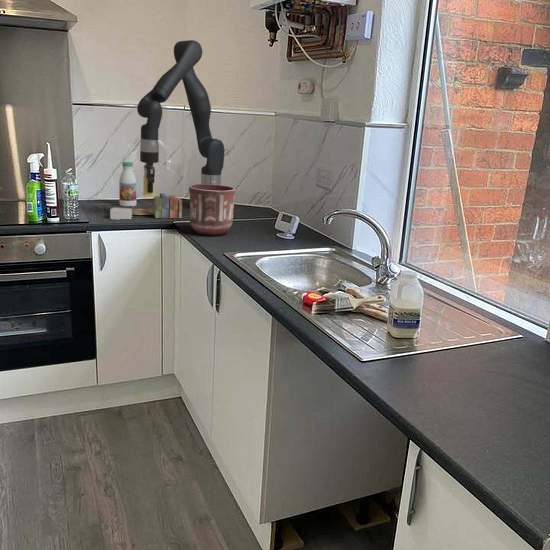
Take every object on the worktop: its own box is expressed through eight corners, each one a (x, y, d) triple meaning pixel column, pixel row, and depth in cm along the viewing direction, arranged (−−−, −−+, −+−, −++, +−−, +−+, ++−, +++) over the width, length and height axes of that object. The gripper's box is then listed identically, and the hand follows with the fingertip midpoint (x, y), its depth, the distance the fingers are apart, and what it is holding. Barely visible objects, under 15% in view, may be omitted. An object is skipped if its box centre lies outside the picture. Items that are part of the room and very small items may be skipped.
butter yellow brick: (152, 195, 243) (153, 176, 241) (154, 197, 238) (154, 177, 236) (143, 195, 241) (143, 176, 239) (145, 197, 237) (145, 177, 235)
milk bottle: (118, 204, 269) (117, 161, 263) (134, 203, 272) (134, 161, 266) (121, 207, 262) (120, 163, 256) (138, 206, 265) (137, 163, 260)
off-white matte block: (132, 217, 243) (132, 208, 242) (129, 220, 237) (129, 211, 236) (113, 216, 242) (113, 207, 241) (110, 219, 236) (110, 210, 235)
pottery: (196, 238, 213) (198, 190, 208) (182, 228, 228) (183, 183, 223) (240, 237, 221) (242, 190, 216) (223, 227, 236) (225, 183, 231)
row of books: (180, 215, 253) (180, 192, 250) (184, 218, 246) (184, 195, 243) (110, 215, 243) (110, 192, 240) (112, 219, 236) (111, 195, 233)
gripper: (161, 152, 229) (161, 194, 234) (155, 149, 242) (155, 189, 247) (142, 151, 227) (142, 194, 232) (137, 148, 240) (137, 188, 244)
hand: (149, 191), depth 239 cm, fingers closed on butter yellow brick, 5 cm apart
